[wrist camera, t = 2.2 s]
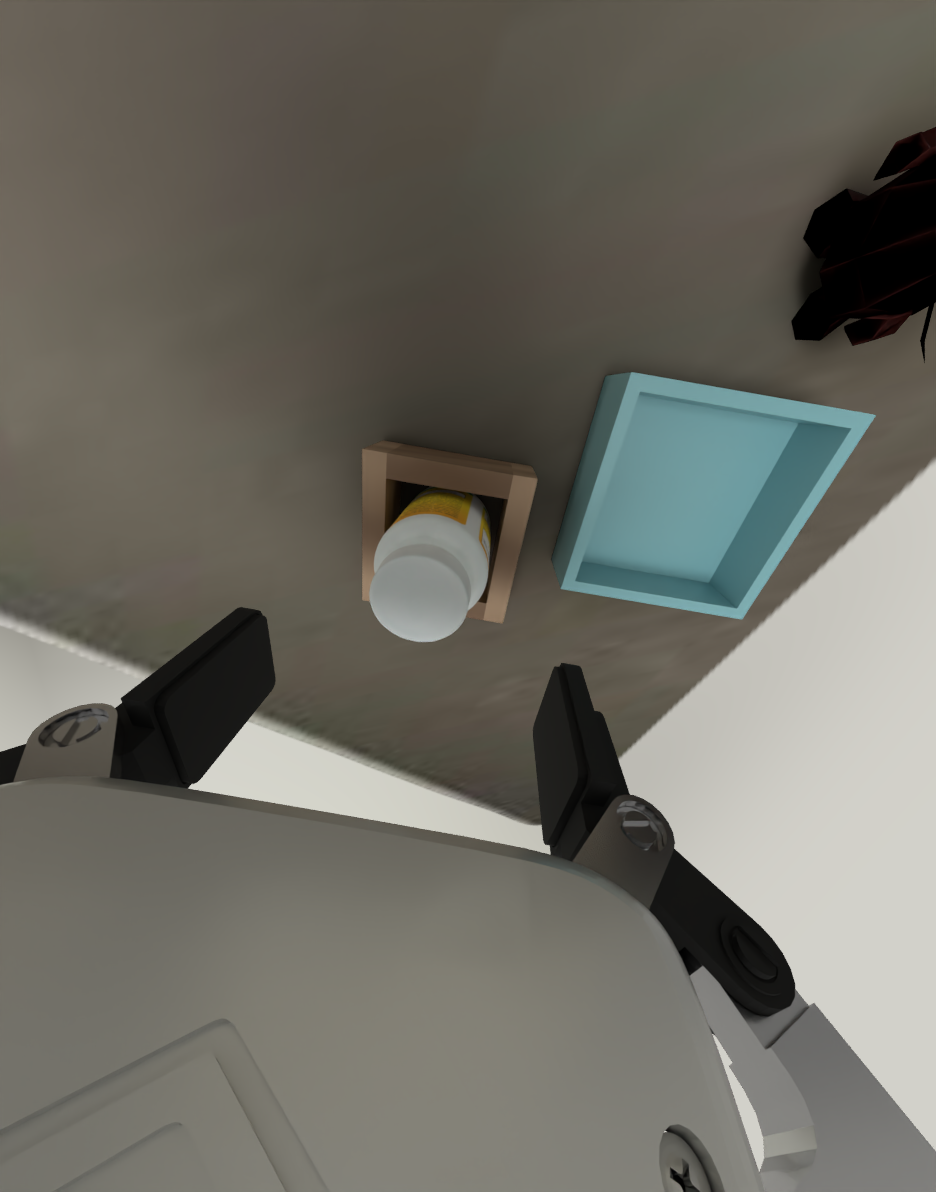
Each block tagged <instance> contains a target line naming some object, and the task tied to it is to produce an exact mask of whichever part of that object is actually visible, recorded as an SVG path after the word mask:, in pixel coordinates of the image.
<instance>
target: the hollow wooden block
mask: <svg viewBox="0 0 936 1192" xmlns="http://www.w3.org/2000/svg"><path fill="white" fill-rule="evenodd" d="M537 480H538V478H537V476H536V474H535V472H534V470H533V468H532V466H528V465H522V464H516V463H511V462H505V461H499V460H493V459H487V458H482V457H476V456H470V455H464V454H458V453H453V452H447V451H441V450H435V449H429V448H423V447H418V446H412V445H406V444H400V443H394V442H389V441H383V440H382V441H380V442H378V443H375V444H373V445H370V446H368V447H366V448H363V449H362V600H365V601H370V597H369V591H370V585H371V582H372V579H373V577H374V575H375V572H374V557H375V552H376V549H377V546H378V544H379V542H380V540H381V538H382V537H383V535H384V534H385V533H386V531H387V530H388V529H389V528H390V527H391V526H392V524H393V523H394V522H395V521H396V520H397V518H398V517H399V516H400V499H401V481H403V482H409V483H415V484H421V485H427V486H433V487H438V488H444V489H450V490H456V491H462V492H468V493H474V494H479V495H485V496H491V497H497V498H503V499H504V500H503V505H502V510H501V515H500V520H499V525H498V530H497V535H496V540H495V545H494V550H493V555H492V560H491V564H490V569H489V574H488V579H487V583H486V587H485V589H484V592H483V594H482V596H481V597H480V599H479V600H478V601H477V603H476V604H475V605H474V606H473V607H472V608H471V609H469V610H468V611H467V614H466V617H467V618H473V619H479V620H485V621H491V622H497V623H503V620H504V616H505V612H506V608H507V604H508V600H509V595H510V591H511V587H512V583H513V579H514V575H515V571H516V567H517V563H518V558H519V554H520V550H521V546H522V542H523V538H524V534H525V530H526V526H527V521H528V517H529V513H530V509H531V505H532V501H533V497H534V493H535V489H536V485H537Z"/></svg>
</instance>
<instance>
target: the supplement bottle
mask: <svg viewBox="0 0 936 1192" xmlns="http://www.w3.org/2000/svg"><path fill="white" fill-rule="evenodd" d="M490 541H491V521H490V517H489V514H488V511H487V509H486V507H485V506H484V504H483V503H482V501H481V500H480V499H479V498H478V497H477V496H476V495H475V494H473V493H468V492H462V491H456V490H450V489H444V488H438V487H433V486H432V487H429V488H427V489H425V490H423V491H422V492H421V493H419V494H418V495H417V496H416V497H415V498H414V499H413V500H412V501H411V503H410V504H409V505H408V506H407V507H406V509H405V510H404V511H403V512H402V513H401V515H400V516H399V517H398V518H397V520H396V521H395V522H394V523H393V524H392V526H391V527H390V528H389V529H388V530H387V531H386V533H385V534H384V535H383V537H382V538H381V540H380V542H379V544H378V546H377V549H376V552H375V557H374V572H375V575H374V577H373V579H372V582H371V585H370V591H369V597H370V604H371V607H372V610H373V612H374V614H375V616H376V617H377V619H378V620H379V621H380V623H381V624H382V625H383V626H384V627H385V628H387V629H388V630H389V631H390V632H392V633H393V634H395V635H397V636H399V637H401V638H404V639H407V640H411V641H417V642H431V641H437V640H440V639H443V638H445V637H447V636H449V635H451V634H452V633H453V632H455V631H456V630H457V629H458V628H459V627H460V626H461V624H462V623H463V621H464V619H465V617H466V614H467V611H468V610H469V609H471V608H472V607H473V606H474V605H475V604H476V603H477V601H478V600H479V599H480V597H481V596H482V594H483V592H484V589H485V587H486V583H487V579H488V571H489V556H490Z"/></svg>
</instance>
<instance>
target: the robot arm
mask: <svg viewBox="0 0 936 1192" xmlns="http://www.w3.org/2000/svg"><path fill="white" fill-rule="evenodd" d="M274 685H275V672H274V665H273V658H272V651H271V645H270V638H269V631H268V624H267V619H266V617H265V616H263V615H262V613H261V611H259V610H254V609H248V608H243V607H240V608H237V609H236V610H234V611H233V612H232V613H231V614H229V615H228V616H227V617H225V618H224V619H223V620H222V621H220V622H219V623H218V624H216V625H215V626H214V627H212V628H211V629H210V630H209V631H207V632H206V633H205V634H203V635H202V636H201V637H199V638H198V639H197V640H196V641H194V642H193V643H192V644H190V645H189V646H188V647H187V648H185V649H184V650H183V651H181V652H180V653H179V654H177V655H176V656H175V657H174V658H172V659H171V660H170V661H168V662H167V663H166V664H165V665H163V666H162V667H161V668H159V669H158V670H157V671H155V672H154V673H153V674H152V675H150V676H149V677H148V678H146V679H145V680H144V681H142V682H141V683H140V684H139V685H137V686H136V687H135V688H133V689H132V690H131V691H130V692H128V693H127V694H126V695H125V696H123V697H122V698H121V700H122V703H121V704H120V705H119V706H118V707H116V708H114V707H112V706H111V705H107V704H102V703H101V704H87V705H81V706H77V707H74V708H71V709H68V710H65V711H63V712H61V713H59V714H57V715H55V716H53V717H51V718H49V719H48V720H46V721H45V722H43V723H42V724H41V725H40V726H39V727H37V728H36V729H35V730H34V731H33V732H32V734H31V736H30V737H29V739H28V741H27V744H24V745H21V746H18V747H15V748H12V749H8V750H5V751H2V752H0V1192H936V1151H935V1150H934V1149H933V1148H932V1146H931V1145H930V1144H929V1143H928V1141H927V1140H926V1139H925V1138H924V1137H923V1135H922V1134H921V1133H920V1132H919V1130H918V1129H917V1128H916V1127H915V1126H914V1125H913V1123H912V1122H911V1121H910V1120H909V1118H908V1117H907V1116H906V1115H905V1113H904V1112H903V1111H902V1110H901V1109H900V1107H899V1106H898V1105H897V1104H896V1103H895V1101H894V1100H893V1099H892V1098H891V1096H890V1095H889V1094H888V1093H887V1092H886V1090H885V1089H884V1088H883V1087H882V1085H881V1084H880V1083H879V1082H878V1080H877V1079H876V1078H875V1077H874V1076H873V1075H872V1073H871V1072H870V1071H869V1069H868V1068H867V1067H866V1066H865V1065H864V1063H863V1062H862V1061H861V1060H860V1058H859V1057H858V1056H857V1055H856V1054H855V1052H854V1051H853V1050H852V1049H851V1047H850V1046H849V1045H848V1044H847V1043H846V1041H845V1040H844V1039H843V1038H842V1036H841V1035H840V1034H839V1033H838V1032H837V1030H836V1029H835V1028H834V1027H833V1025H832V1024H831V1023H830V1022H829V1021H828V1019H826V1017H825V1016H824V1014H823V1013H822V1012H821V1011H820V1010H819V1008H818V1007H817V1006H816V1005H815V1004H814V1003H813V1004H811V1005H809V1006H808V1004H807V1003H806V1002H805V1001H804V999H803V998H802V997H801V996H800V995H799V993H798V992H797V991H796V989H795V982H794V979H793V975H792V972H791V969H790V967H789V965H788V963H787V961H786V959H785V957H784V955H783V953H782V952H781V950H780V949H779V948H778V946H777V945H776V943H775V942H774V941H773V939H772V938H771V937H770V936H769V935H768V934H767V933H766V932H765V931H764V929H763V928H762V927H761V926H760V925H759V924H757V923H756V922H755V921H754V920H753V919H752V918H751V917H750V916H749V915H747V914H746V913H745V912H744V911H743V910H742V909H741V908H740V907H739V906H737V905H736V904H735V903H734V902H733V901H732V900H731V899H730V898H729V897H727V896H726V895H725V894H724V893H723V892H722V891H721V890H719V889H718V888H717V887H716V886H715V885H714V884H713V883H712V882H711V881H710V880H708V879H707V878H706V877H705V876H704V875H703V874H702V873H701V872H699V871H698V870H697V869H696V868H695V867H694V866H693V865H692V864H690V863H689V862H688V861H687V860H686V859H685V858H684V857H683V856H682V855H681V854H680V853H678V852H677V851H676V850H675V849H674V844H675V841H674V836H673V832H672V830H671V828H670V826H669V823H668V822H667V821H666V819H665V818H664V816H663V815H662V814H661V812H660V811H658V810H657V809H656V808H655V807H654V806H653V805H652V804H650V803H649V802H647V801H646V800H644V799H642V798H640V797H636V796H634V795H630V794H629V791H628V788H627V785H626V782H625V779H624V776H623V773H622V770H621V767H620V764H619V761H618V758H617V755H616V752H615V749H614V746H613V743H612V740H611V737H610V734H609V731H608V728H607V725H606V721H605V718H604V716H603V714H602V713H601V712H598V711H594V708H593V705H592V702H591V699H590V695H589V692H588V689H587V686H586V682H585V679H584V676H583V672H582V669H581V667H580V666H577V665H571V664H565V663H561V665H560V667H556V666H555V667H554V669H553V671H552V674H551V677H550V680H549V683H548V686H547V688H546V691H545V694H544V697H543V700H542V703H541V706H540V709H539V711H538V714H537V717H536V720H535V723H534V727H533V740H534V751H535V761H536V771H537V781H538V792H539V802H540V812H541V822H542V832H543V841H544V843H545V845H550V851H551V855H549V854H545V853H541V852H537V851H533V850H529V849H525V848H520V847H515V846H510V845H505V844H500V843H495V842H490V841H485V840H480V839H475V838H469V837H464V836H458V835H453V834H447V833H442V832H436V831H430V830H425V829H419V828H414V827H408V826H402V825H397V824H391V823H385V822H380V821H374V820H368V819H363V818H357V817H351V816H345V815H339V814H334V813H328V812H322V811H316V810H310V809H305V808H299V807H293V806H287V805H282V804H275V803H270V802H264V801H258V800H252V799H246V798H240V797H234V796H228V795H222V794H216V793H210V792H204V791H198V790H192V789H188V787H189V786H190V785H191V784H194V783H197V782H198V781H199V780H200V779H201V778H202V777H203V775H204V774H205V773H206V772H207V770H208V769H209V768H210V767H211V765H212V764H213V763H214V762H215V761H216V759H217V758H218V757H219V756H220V754H221V753H222V752H223V751H224V749H225V748H226V747H227V746H228V744H229V743H230V742H231V741H232V739H233V738H234V737H235V736H236V734H237V733H238V732H239V731H240V729H241V728H242V727H243V725H244V724H245V723H246V722H247V721H248V719H249V718H250V717H251V716H252V714H253V713H254V712H255V711H256V709H257V708H258V707H259V706H260V704H261V703H262V702H263V701H264V699H265V698H266V697H267V696H268V694H269V693H270V692H271V691H272V689H273V687H274ZM712 1034H714V1035H715V1036H716V1037H717V1039H718V1040H719V1042H720V1043H721V1045H722V1047H723V1048H724V1050H725V1051H726V1053H727V1054H728V1056H729V1057H730V1059H731V1061H732V1062H733V1063H732V1064H731V1065H730V1066H729V1067H730V1068H731V1070H732V1072H733V1073H734V1075H735V1076H736V1078H737V1080H738V1081H739V1083H740V1084H741V1086H742V1088H743V1089H744V1091H745V1093H746V1095H747V1097H748V1098H749V1101H750V1103H751V1105H752V1106H753V1108H754V1110H755V1112H756V1115H757V1118H758V1122H759V1125H760V1128H761V1131H762V1135H763V1141H764V1161H763V1164H762V1166H761V1169H760V1172H759V1171H758V1168H757V1165H756V1162H755V1159H754V1156H753V1153H752V1150H751V1147H750V1144H749V1141H748V1138H747V1135H746V1132H745V1129H744V1126H743V1123H742V1120H741V1117H740V1114H739V1111H738V1108H737V1105H736V1102H735V1099H734V1095H733V1092H732V1090H731V1087H730V1083H729V1081H728V1077H727V1074H726V1072H725V1069H724V1066H723V1063H722V1060H721V1057H720V1054H719V1052H718V1049H717V1046H716V1044H715V1041H714V1038H713V1035H712ZM664 1131H667V1132H665V1133H663V1132H664Z"/></svg>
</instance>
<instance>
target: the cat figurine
mask: <svg viewBox="0 0 936 1192" xmlns="http://www.w3.org/2000/svg"><path fill="white" fill-rule="evenodd" d="M908 169H909V170H908ZM905 170H908V171H906V172H905V173H903V174H902V175H900V176H899V177H897V178H895V179H894V180H892V181H891V182H889V183H888V184H886V185H885V186H883V187H882V188H880V189H879V190H877V191H875V192H874V193H872V194H871V195H869V196H867V195H864V194H861V193H858V192H856V191H853V190H850V189H845V190H844V191H842V192H841V193H839V194H838V195H836V196H835V197H833V198H832V199H830V200H829V201H827V202H826V203H824V204H823V205H821V206H820V207H818V208H817V209H815V210H814V213H813V215H812V218H811V220H810V223H809V225H808V228H807V230H806V233H805V235H804V240H805V241H806V243H807V244H808V246H809V247H810V249H811V250H812V251H813V253H814V254H815V256H816V257H817V258H826V259H825V261H824V264H823V266H822V268H821V270H820V277H821V282H822V288H820V289H818V290H816V291H815V292H813V293H811V295H810V296H809V297H808V299H807V300H806V302H805V303H804V304H803V306H802V307H801V309H800V310H799V311H798V313H797V314H796V316H795V317H794V318H793V320H792V325H793V330H794V335H795V340H817V341H820V340H821V339H823V338H824V337H825V336H827V335H828V334H829V333H831V332H832V331H833V330H834V329H836V328H837V327H838V326H840V325H841V324H842V323H844V322H845V321H846V320H847V319H849V318H854V319H860V320H858V321H856V322H853V323H851V324H848V325H846V326H844V329H845V332H846V334H847V336H848V338H849V340H850V342H851V344H852V346H854V345H858V344H861V343H865V342H869V341H872V340H875V339H879V338H882V337H885V336H888V335H891V334H894V333H895V332H896V331H897V330H898V329H899V328H900V326H901V325H902V324H903V323H904V322H905V320H906V319H907V318H908V317H909V316H910V315H913V314H915V313H917V312H919V311H921V310H923V309H924V308H926V307H928V306H929V308H928V312H927V316H926V320H925V324H924V328H923V332H922V336H921V340H920V342H921V347H922V353H923V358H924V363H925V338H926V334H927V330H928V326H929V322H930V318H931V314H932V311H933V307H934V303H935V302H936V127H935V128H932V129H930V130H927V131H925V132H919V133H917V134H914V135H912V136H909V137H907V138H905V139H902V140H900V141H897V142H896V143H895V145H894V146H893V148H892V150H891V151H890V153H889V155H888V156H887V158H886V159H885V161H884V163H883V164H882V166H881V168H880V169H879V171H878V173H877V174H876V176H875V178H874V180H878V179H881V178H884V177H888V176H891V175H895V174H897V173H900V172H903V171H905ZM874 180H873V181H874Z"/></svg>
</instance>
